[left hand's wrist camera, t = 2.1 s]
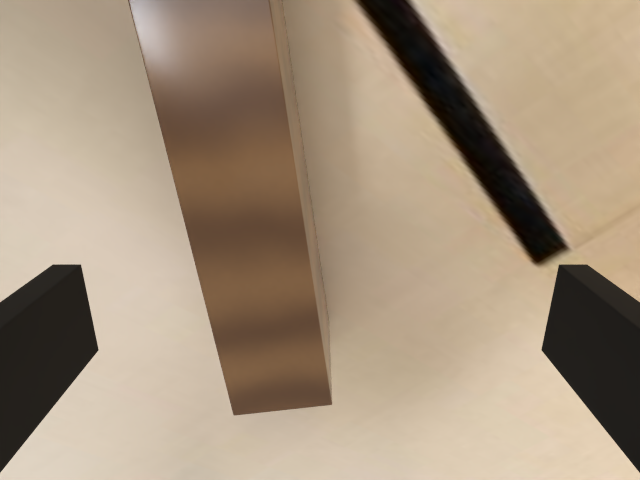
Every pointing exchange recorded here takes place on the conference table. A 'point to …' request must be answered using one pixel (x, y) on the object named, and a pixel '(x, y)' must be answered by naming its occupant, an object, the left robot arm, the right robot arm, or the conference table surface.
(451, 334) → the conference table surface
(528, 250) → the conference table surface
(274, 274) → the post
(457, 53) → the conference table surface
